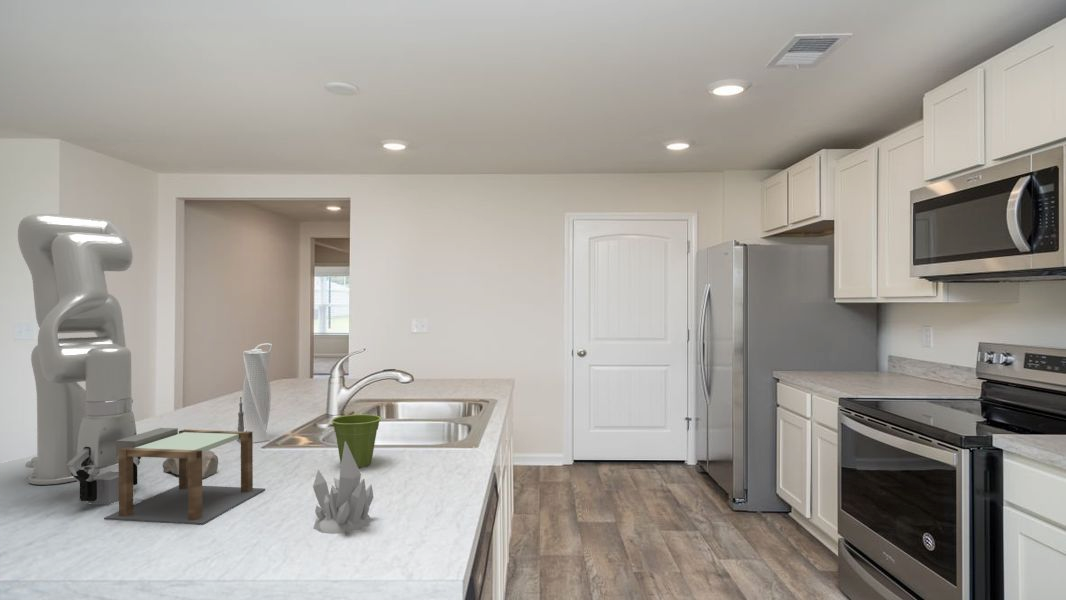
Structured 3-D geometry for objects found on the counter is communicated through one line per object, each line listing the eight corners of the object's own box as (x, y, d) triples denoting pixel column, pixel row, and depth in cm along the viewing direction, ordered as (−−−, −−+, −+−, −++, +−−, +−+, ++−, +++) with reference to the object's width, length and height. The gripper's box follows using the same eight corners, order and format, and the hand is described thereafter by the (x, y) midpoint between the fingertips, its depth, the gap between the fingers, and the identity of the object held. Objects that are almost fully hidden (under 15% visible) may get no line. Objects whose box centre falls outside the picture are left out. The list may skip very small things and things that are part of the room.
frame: (118, 517, 108) (118, 449, 108) (184, 488, 125) (184, 429, 125) (196, 521, 106) (195, 452, 106) (252, 491, 123) (252, 431, 122)
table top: (104, 519, 107) (104, 517, 107) (179, 486, 126) (179, 484, 126) (203, 524, 104) (203, 523, 104) (265, 489, 123) (265, 488, 123)
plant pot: (384, 468, 139) (384, 421, 139) (332, 474, 134) (332, 425, 134) (378, 455, 150) (378, 412, 150) (330, 460, 145) (329, 415, 145)
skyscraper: (267, 436, 172) (267, 342, 172) (275, 441, 166) (275, 343, 166) (236, 441, 167) (236, 343, 167) (243, 446, 160) (243, 345, 160)
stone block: (87, 503, 116) (87, 478, 116) (109, 495, 120) (109, 471, 120) (109, 505, 115) (109, 479, 115) (130, 496, 120) (130, 472, 120)
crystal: (339, 506, 113) (339, 430, 113) (386, 521, 106) (386, 439, 106) (294, 523, 105) (293, 440, 105) (342, 540, 98) (341, 451, 98)
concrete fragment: (193, 482, 129) (193, 455, 129) (158, 473, 136) (158, 447, 136) (223, 474, 135) (223, 448, 135) (189, 465, 142) (189, 440, 142)
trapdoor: (111, 457, 110) (111, 441, 110) (164, 440, 123) (164, 426, 123) (194, 460, 108) (194, 444, 108) (238, 443, 121) (238, 429, 121)
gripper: (127, 400, 127) (128, 478, 127) (52, 416, 110) (52, 506, 110) (158, 400, 126) (159, 479, 126) (87, 417, 108) (88, 508, 109)
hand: (109, 492), depth 118 cm, fingers open, 9 cm apart
